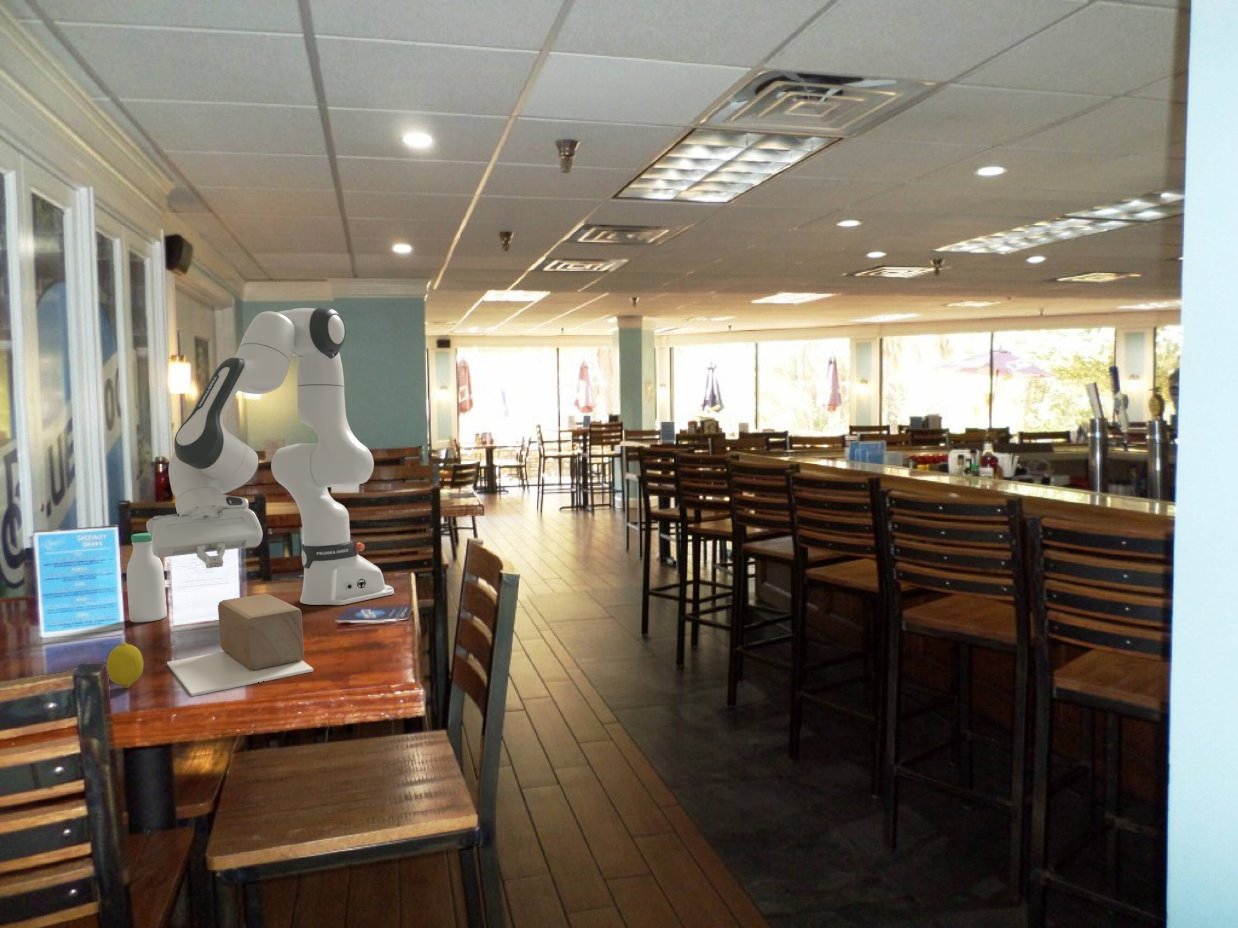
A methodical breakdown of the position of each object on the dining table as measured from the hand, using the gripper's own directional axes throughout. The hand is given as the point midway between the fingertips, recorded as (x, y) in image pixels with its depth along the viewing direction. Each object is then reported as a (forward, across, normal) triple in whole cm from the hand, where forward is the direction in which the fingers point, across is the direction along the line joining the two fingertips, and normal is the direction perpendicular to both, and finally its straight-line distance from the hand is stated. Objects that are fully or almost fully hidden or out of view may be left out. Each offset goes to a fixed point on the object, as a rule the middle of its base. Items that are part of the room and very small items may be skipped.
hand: (215, 565), depth 172 cm
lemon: (+22, -18, +2) cm, 29 cm away
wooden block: (+9, +4, +7) cm, 12 cm away
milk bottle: (-17, -7, +42) cm, 46 cm away
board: (+23, 0, +1) cm, 23 cm away
